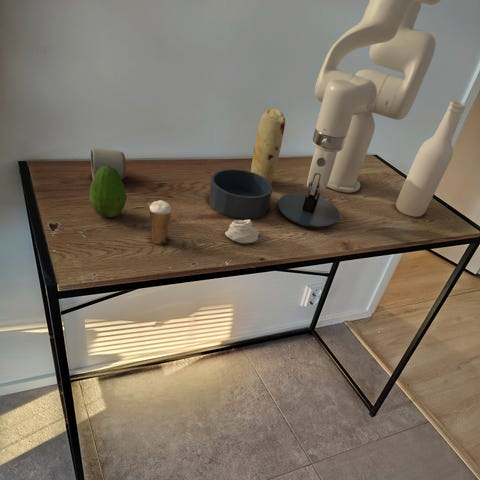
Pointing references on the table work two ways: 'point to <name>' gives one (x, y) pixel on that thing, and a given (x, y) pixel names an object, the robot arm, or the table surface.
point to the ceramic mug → (108, 160)
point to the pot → (240, 193)
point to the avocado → (107, 192)
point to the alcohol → (430, 165)
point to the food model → (268, 143)
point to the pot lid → (320, 218)
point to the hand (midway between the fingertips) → (309, 207)
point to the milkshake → (159, 220)
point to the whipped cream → (242, 231)
